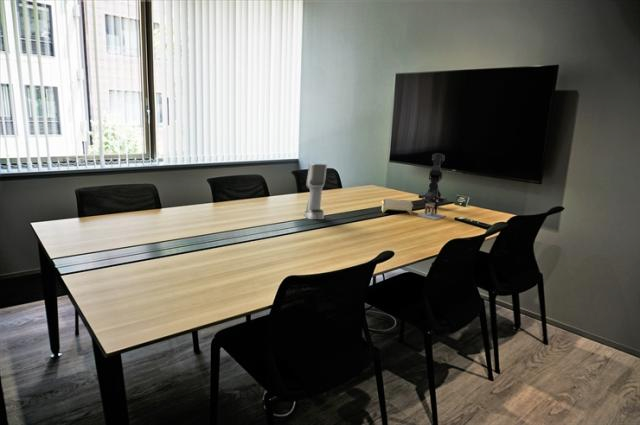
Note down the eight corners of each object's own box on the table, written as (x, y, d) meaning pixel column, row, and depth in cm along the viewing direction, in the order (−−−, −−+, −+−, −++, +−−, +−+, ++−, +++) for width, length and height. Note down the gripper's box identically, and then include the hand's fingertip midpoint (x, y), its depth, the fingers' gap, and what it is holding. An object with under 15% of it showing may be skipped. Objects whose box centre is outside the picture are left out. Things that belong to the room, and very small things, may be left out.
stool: (428, 212, 293) (429, 202, 291) (436, 213, 289) (437, 204, 287) (424, 213, 288) (425, 203, 287) (432, 215, 285) (433, 205, 283)
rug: (427, 212, 298) (427, 211, 298) (445, 216, 289) (446, 215, 289) (416, 215, 286) (416, 215, 286) (434, 220, 277) (435, 219, 277)
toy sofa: (410, 211, 298) (411, 197, 295) (412, 214, 289) (414, 200, 287) (380, 209, 298) (381, 195, 296) (381, 212, 290) (383, 198, 287)
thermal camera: (308, 220, 262) (310, 164, 253) (302, 214, 274) (305, 161, 265) (325, 219, 266) (329, 164, 257) (320, 214, 277) (322, 161, 269)
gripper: (415, 186, 284) (413, 209, 288) (441, 191, 272) (438, 214, 276) (423, 185, 292) (421, 206, 296) (448, 189, 280) (445, 212, 284)
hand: (431, 210), depth 288 cm, fingers closed on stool, 6 cm apart
